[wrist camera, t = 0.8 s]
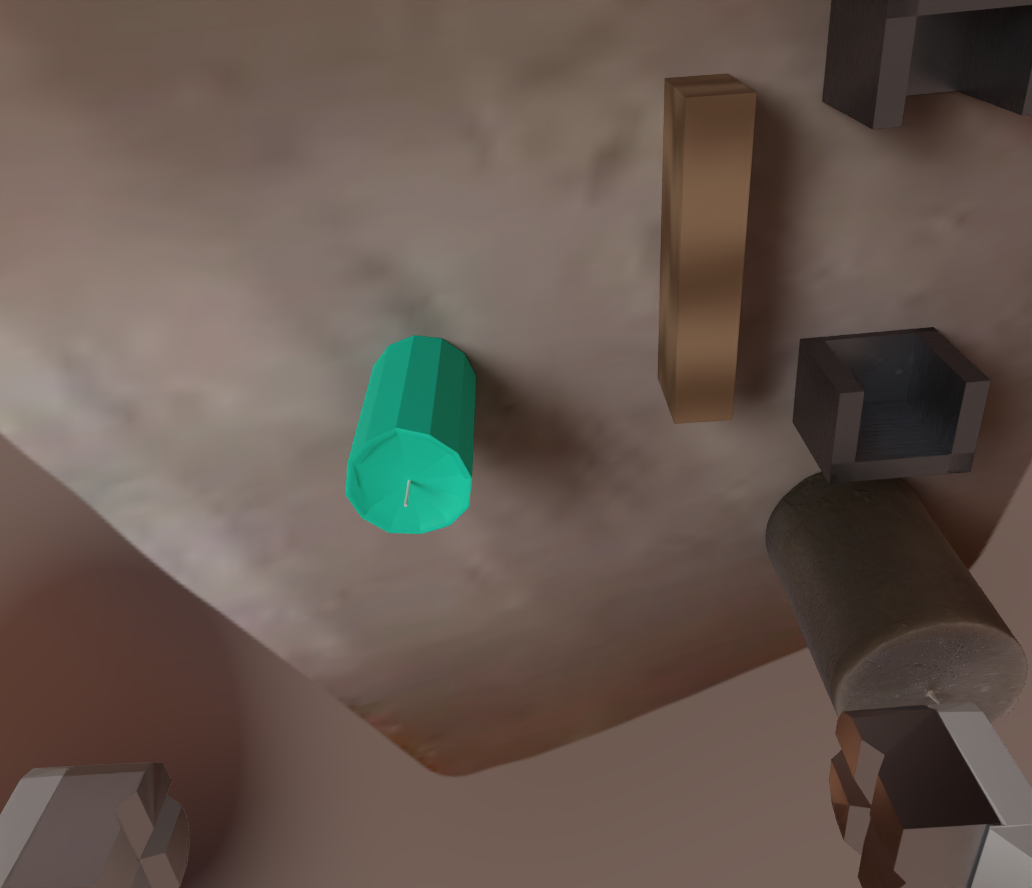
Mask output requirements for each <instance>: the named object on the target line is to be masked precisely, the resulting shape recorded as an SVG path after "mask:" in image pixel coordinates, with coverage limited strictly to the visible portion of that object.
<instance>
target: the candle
mask: <svg viewBox="0 0 1032 888" xmlns="http://www.w3.org/2000/svg"><path fill="white" fill-rule="evenodd" d="M475 392H476V375H475V373H474V371H473V369H472V367H471V365H470V363H469V361H468V359H467V357H466V355H465V353H463V352H462V351H460V350H459V349H457V348H456V347H454V346H453V345H451V344H450V343H448V342H447V341H445V340H444V339H442V338H433V337H424V336H415V335H414V336H411V337H409V338H406V339H404V340H401V341H399V342H396V343H394V344H391V345H389V346H388V347H387V349H386V350H385V351H384V353H383V354H382V355H381V357H380V358H379V359H378V361H377V362H376V363H375V365H374V366H373V370H372V374H371V378H370V381H369V385H368V389H367V392H366V396H365V400H364V404H363V407H362V411H361V415H360V418H359V422H358V426H357V430H356V433H355V437H354V441H353V444H352V448H351V452H350V456H349V459H348V463H347V479H346V496H347V497H348V499H349V500H350V502H351V503H352V505H353V506H354V508H355V509H356V511H357V512H358V513H359V515H360V516H361V518H363V519H365V520H366V521H368V522H370V523H372V524H374V525H376V526H377V527H379V528H381V529H383V530H385V531H387V532H389V533H410V534H423V533H426V532H430V531H433V530H436V529H440V528H443V527H447V526H450V525H451V524H452V523H453V522H454V521H455V520H456V519H457V518H458V517H459V516H460V515H462V514H463V513H464V512H465V511H466V510H467V509H468V508H469V500H470V492H471V483H472V466H473V442H474V417H475Z"/></svg>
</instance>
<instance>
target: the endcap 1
mask: <svg viewBox="0 0 1032 888" xmlns="http://www.w3.org/2000/svg"><path fill="white" fill-rule="evenodd" d="M950 91H958V92H961V93H963V94H966V95H969V96H971V97H974V98H977V99H979V100H982V101H985V102H987V103H990V104H993V105H995V106H998V107H1001V108H1004V109H1006V110H1009V111H1012V112H1014V113H1017V114H1020V115H1031V114H1032V0H832V2H831V13H830V24H829V35H828V45H827V56H826V67H825V78H824V88H823V99H822V102H824V103H826V104H828V105H830V106H831V107H833V108H835V109H837V110H839V111H840V112H842V113H844V114H846V115H848V116H849V117H851V118H853V119H855V120H857V121H858V122H860V123H862V124H864V125H866V126H867V127H869V128H871V129H883V128H893V127H902V120H903V113H904V106H905V98H906V96H908V95H918V94H929V93H939V92H950Z"/></svg>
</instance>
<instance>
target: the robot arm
mask: <svg viewBox="0 0 1032 888" xmlns="http://www.w3.org/2000/svg"><path fill="white" fill-rule="evenodd" d="M835 734H836V736H837V739H838V742H839V744H840V746H841V749H842V750H841V751H840V752H839V753H838V754H837V755H835V756H834V757H833V758H832V759H831V766H830V775H829V783H830V793H831V802H832V806H833V810H834V814H835V817H836V821H837V824H838V826H839V829H840V832H841V835H842V837H843V840H844V841H845V842H846V843H847V844H848V845H850V846H851V847H852V848H853V849H854V850H856V851H857V852H858V853H859V854H861V855H862V856H861V861H860V867H859V872H858V879H859V881H860V884H861V886H862V888H1032V787H1031V785H1030V784H1029V782H1028V781H1027V779H1026V778H1025V776H1024V775H1023V773H1022V771H1021V770H1020V768H1019V767H1018V765H1017V764H1016V762H1015V761H1014V759H1013V758H1012V756H1011V754H1010V753H1009V751H1008V750H1007V748H1006V747H1005V745H1004V744H1003V742H1002V740H1001V739H1000V737H999V736H998V734H997V733H996V731H995V730H994V728H993V726H992V725H991V723H990V722H989V720H988V719H987V717H986V716H985V714H984V712H983V711H982V709H981V708H980V707H978V706H977V705H976V704H974V703H973V702H961V703H947V704H934V705H927V706H925V705H913V706H901V707H889V708H877V709H866V710H854V711H843V712H842V713H841V715H840V716H839V718H838V720H837V726H836V732H835ZM171 781H172V780H171V778H170V776H169V774H168V772H167V770H166V768H165V766H164V764H163V763H157V762H150V763H127V764H105V765H83V766H68V767H53V768H52V767H51V768H34V769H32V770H31V771H30V772H29V773H28V774H27V775H25V776H24V777H23V778H22V779H21V780H20V781H19V783H18V785H17V787H16V788H15V790H14V792H13V794H12V795H11V797H10V799H9V801H8V803H7V804H6V806H5V808H4V809H3V811H2V813H1V815H0V888H179V887H180V884H181V881H182V878H183V875H184V871H185V868H186V865H187V859H188V850H189V841H190V834H189V827H188V819H187V817H186V814H185V811H184V809H183V806H182V805H181V804H179V803H178V802H176V801H175V800H173V799H172V798H170V797H168V796H167V792H168V789H169V787H170V784H171Z"/></svg>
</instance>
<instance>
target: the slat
mask: <svg viewBox="0 0 1032 888" xmlns="http://www.w3.org/2000/svg"><path fill="white" fill-rule="evenodd" d="M756 97H757V92H755V91H754V90H752V89H751V88H749V87H748V86H746V85H744V84H743V83H741V82H740V81H738V80H737V79H735V78H734V77H732V76H731V75H729V74H715V75H702V76H688V77H674V78H665V86H664V129H663V172H662V215H661V257H660V300H659V343H658V380H659V383H660V385H661V388H662V391H663V394H664V396H665V399H666V402H667V405H668V407H669V410H670V413H671V416H672V418H673V421H674V424H679V423H694V422H708V421H723V420H732V415H733V402H734V389H735V375H736V362H737V349H738V336H739V322H740V309H741V296H742V282H743V269H744V256H745V243H746V229H747V216H748V203H749V190H750V176H751V163H752V150H753V136H754V123H755V110H756Z"/></svg>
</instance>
